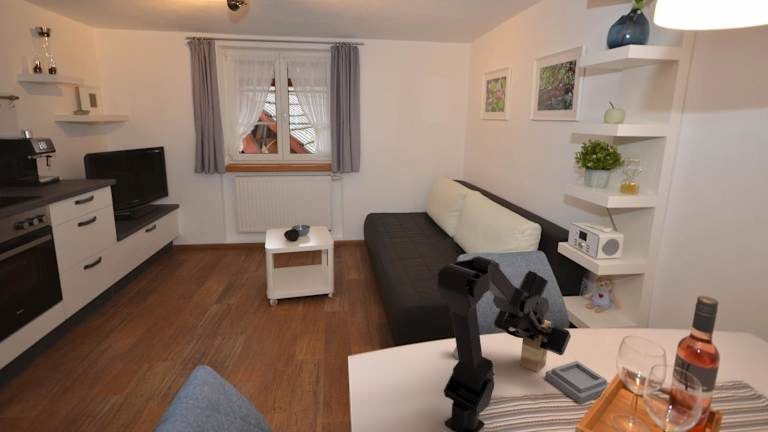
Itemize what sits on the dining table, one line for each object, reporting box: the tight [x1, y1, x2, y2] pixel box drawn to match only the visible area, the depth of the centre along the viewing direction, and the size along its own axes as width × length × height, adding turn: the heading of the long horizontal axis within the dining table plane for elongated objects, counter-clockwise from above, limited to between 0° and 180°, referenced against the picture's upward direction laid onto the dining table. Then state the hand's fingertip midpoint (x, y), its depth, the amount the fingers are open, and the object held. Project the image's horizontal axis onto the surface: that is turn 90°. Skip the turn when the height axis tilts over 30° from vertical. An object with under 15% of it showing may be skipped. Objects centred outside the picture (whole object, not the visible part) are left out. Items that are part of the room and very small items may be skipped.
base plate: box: [544, 360, 611, 405], centre depth 108 cm, size 11×11×3 cm
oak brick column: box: [519, 319, 552, 374], centre depth 114 cm, size 5×5×14 cm
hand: (538, 341), depth 115 cm, fingers closed on oak brick column, 5 cm apart
